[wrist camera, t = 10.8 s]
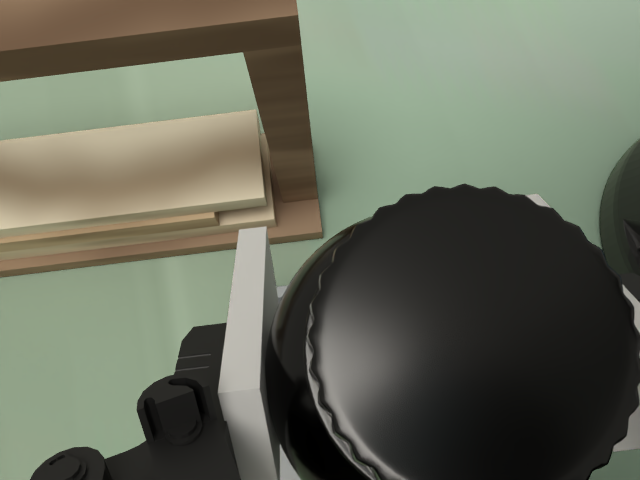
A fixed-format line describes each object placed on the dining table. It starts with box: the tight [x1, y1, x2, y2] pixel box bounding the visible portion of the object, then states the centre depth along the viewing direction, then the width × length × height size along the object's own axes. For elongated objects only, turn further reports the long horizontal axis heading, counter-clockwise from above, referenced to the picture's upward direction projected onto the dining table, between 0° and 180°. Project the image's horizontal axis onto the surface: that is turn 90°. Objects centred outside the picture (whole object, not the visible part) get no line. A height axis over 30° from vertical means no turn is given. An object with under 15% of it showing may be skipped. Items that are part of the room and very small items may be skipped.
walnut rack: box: [0, 0, 323, 277], centre depth 28 cm, size 6×27×18 cm, turn 97°
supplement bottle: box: [265, 184, 640, 480], centre depth 14 cm, size 7×7×12 cm
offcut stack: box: [0, 110, 277, 261], centre depth 34 cm, size 5×21×4 cm, turn 97°
